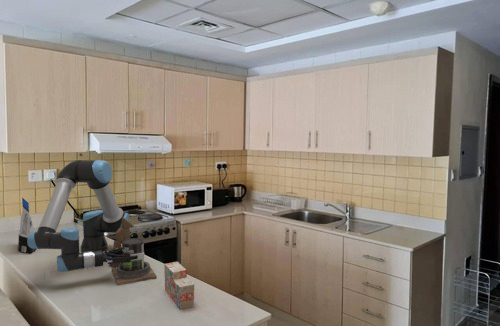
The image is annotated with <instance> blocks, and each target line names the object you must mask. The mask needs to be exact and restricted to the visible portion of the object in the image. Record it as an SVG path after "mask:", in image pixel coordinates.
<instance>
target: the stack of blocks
mask: <svg viewBox="0 0 500 326" xmlns="http://www.w3.org/2000/svg"><path fill="white" fill-rule="evenodd" d="M163 265H164V266H163V267H164V291H165V292H166V293H167V295H168V296H169V298H170V299H171V300H172V301H173V302H174V304H175V306H177V308H178V309H179V310H183V309H187V308H192V307H194V306H195V284H194V282H193V281H192V280H190V279H189V278H188V277H187V274H188V272H187V269H186V268H185V267H184V266H183V265H182V264H181V263H180V262H179V261H173V262H169V263H164V264H163Z"/></svg>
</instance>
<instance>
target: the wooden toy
mask: <svg viewBox="0 0 500 326" xmlns="http://www.w3.org/2000/svg"><path fill="white" fill-rule="evenodd" d="M134 227H135V225H133V223H131V222H130V221H129V222H128V221H127V220H126V219H125V218H123V217H122V228H119V229H118V230H117V231H116V233H115V240H113V250H114V249H118V248H122V241H124V240H126V239H131V236H130V235H131V231H130V229H131V228H134ZM138 238H139V237H138ZM139 239H141V238H139ZM120 264H121V263H113V264H108V266H110V267H111V268H112V269H113V268H117V267H118V266H119V265H120Z"/></svg>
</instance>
